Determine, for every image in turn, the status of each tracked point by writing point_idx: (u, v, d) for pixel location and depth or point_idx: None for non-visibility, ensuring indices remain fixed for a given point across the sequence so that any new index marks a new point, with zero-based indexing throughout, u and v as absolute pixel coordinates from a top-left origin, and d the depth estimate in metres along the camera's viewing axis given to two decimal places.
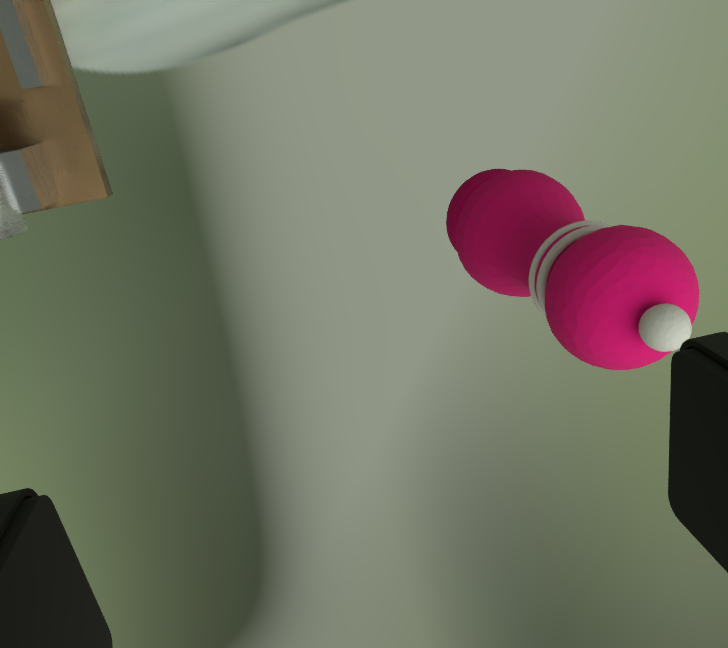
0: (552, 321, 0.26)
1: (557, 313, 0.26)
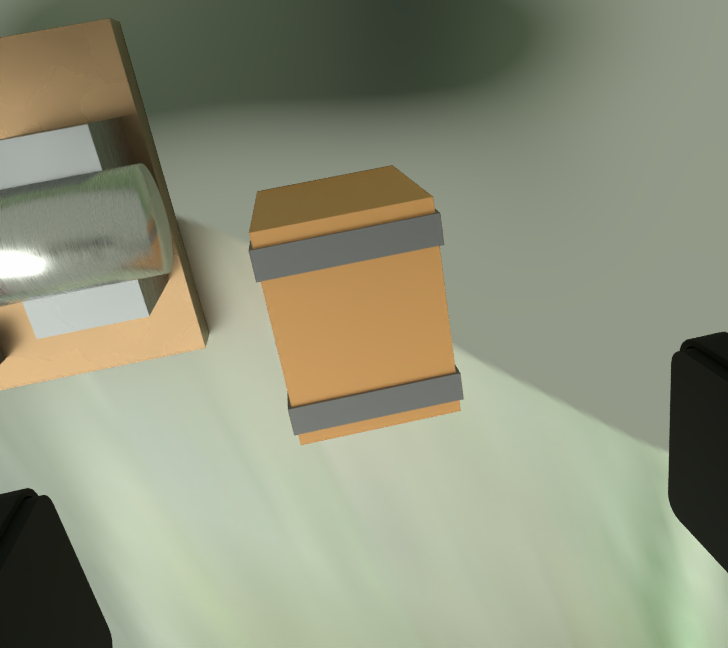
0: None
1: None
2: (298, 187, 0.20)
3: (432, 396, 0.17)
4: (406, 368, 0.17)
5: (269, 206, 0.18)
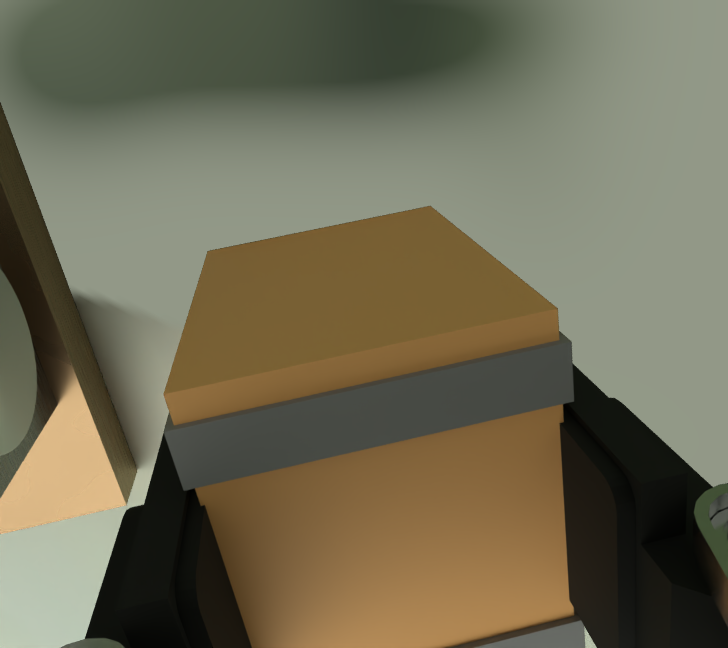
0: None
1: None
2: (276, 247, 0.12)
3: None
4: (483, 616, 0.09)
5: (220, 298, 0.10)
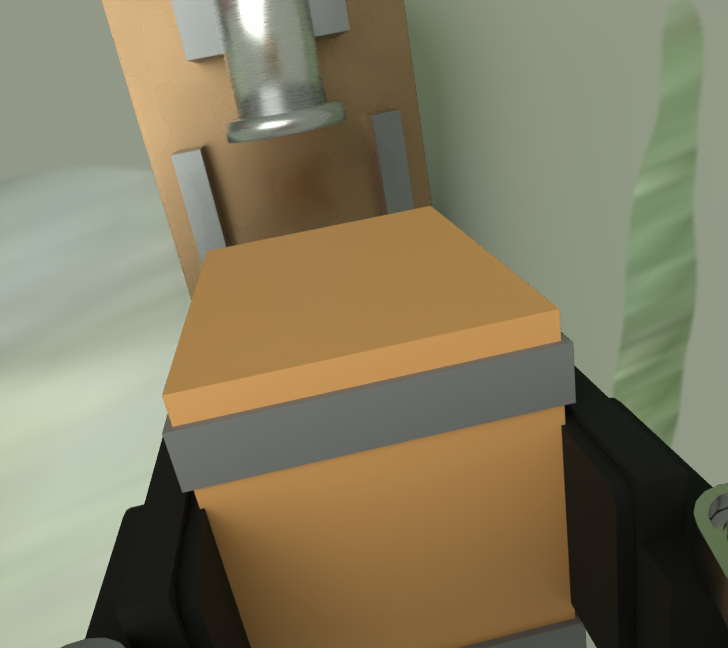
0: None
1: None
2: (275, 247, 0.12)
3: None
4: (484, 618, 0.09)
5: (220, 298, 0.10)
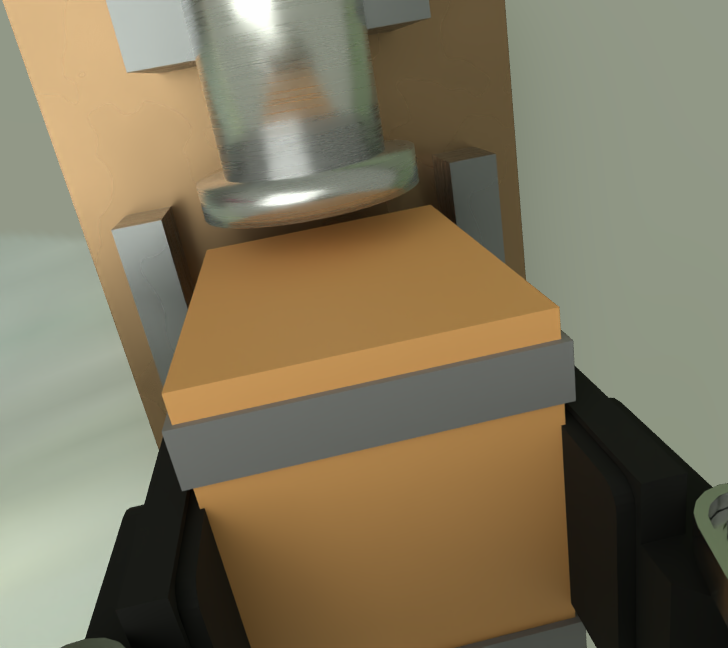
0: None
1: None
2: (275, 246, 0.12)
3: None
4: (484, 617, 0.09)
5: (219, 297, 0.10)
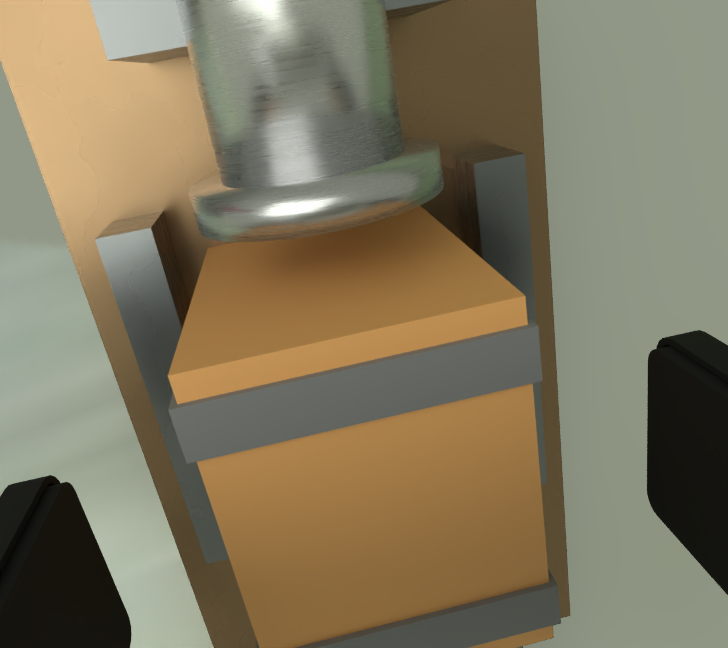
0: None
1: None
2: (271, 244, 0.13)
3: (508, 623, 0.10)
4: (464, 582, 0.10)
5: (219, 291, 0.10)
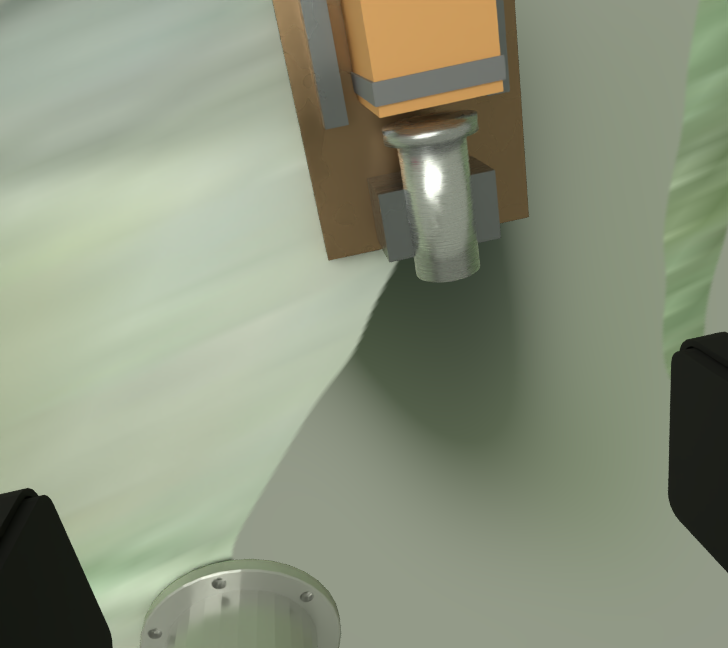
0: None
1: None
2: None
3: (482, 75, 0.22)
4: (462, 49, 0.22)
5: None
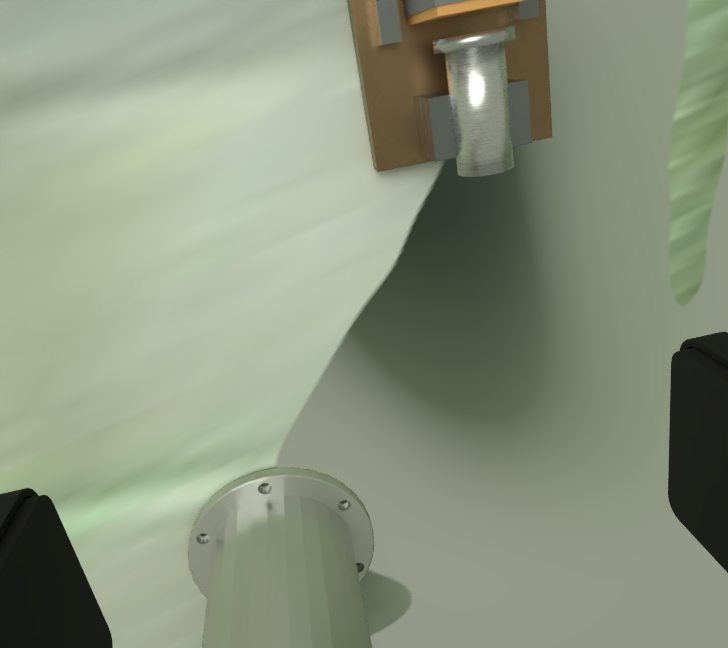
0: None
1: None
2: None
3: None
4: None
5: None
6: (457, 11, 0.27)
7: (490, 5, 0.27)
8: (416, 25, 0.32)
